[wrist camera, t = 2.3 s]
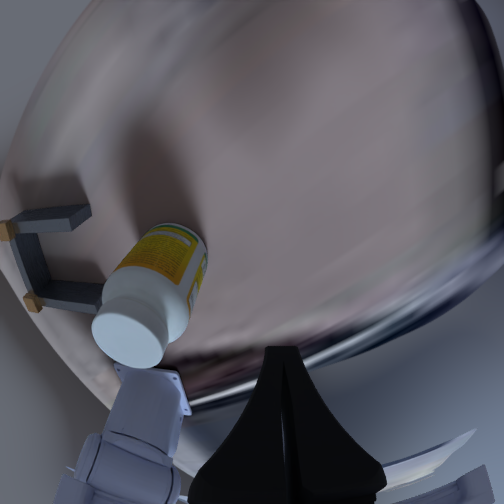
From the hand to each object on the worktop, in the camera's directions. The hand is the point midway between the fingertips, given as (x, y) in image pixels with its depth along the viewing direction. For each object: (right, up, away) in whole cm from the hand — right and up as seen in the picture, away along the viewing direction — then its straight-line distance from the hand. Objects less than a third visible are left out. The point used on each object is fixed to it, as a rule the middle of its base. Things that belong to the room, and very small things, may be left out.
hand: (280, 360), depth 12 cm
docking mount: (-18, +5, +9) cm, 21 cm away
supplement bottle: (-7, +5, +9) cm, 13 cm away
